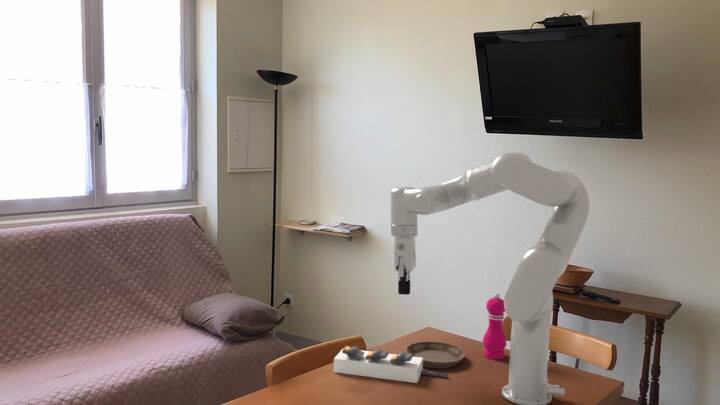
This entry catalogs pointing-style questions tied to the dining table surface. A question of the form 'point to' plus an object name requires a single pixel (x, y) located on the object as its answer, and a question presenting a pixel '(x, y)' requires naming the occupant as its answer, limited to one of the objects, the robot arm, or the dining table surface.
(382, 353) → the switch middle
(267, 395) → the dining table surface
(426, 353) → the plant saucer
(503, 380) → the dining table surface
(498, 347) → the pepper mill
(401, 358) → the switch
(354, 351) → the switch
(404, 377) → the power strip
